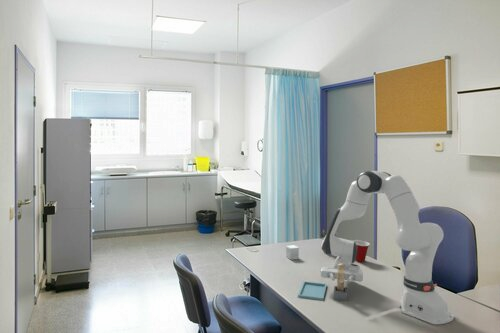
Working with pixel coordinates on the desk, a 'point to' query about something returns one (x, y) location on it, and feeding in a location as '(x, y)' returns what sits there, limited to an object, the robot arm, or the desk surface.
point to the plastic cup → (361, 250)
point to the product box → (292, 252)
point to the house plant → (325, 234)
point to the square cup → (340, 294)
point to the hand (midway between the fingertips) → (340, 279)
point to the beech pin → (340, 277)
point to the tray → (312, 290)
